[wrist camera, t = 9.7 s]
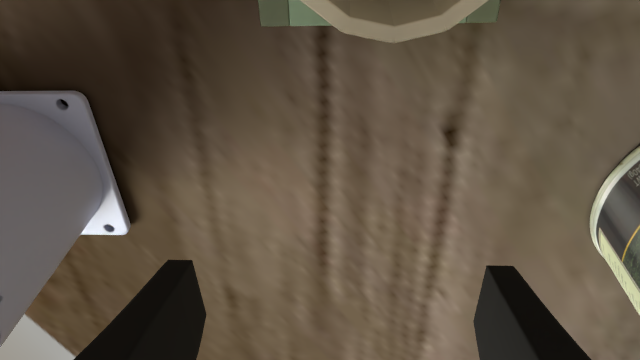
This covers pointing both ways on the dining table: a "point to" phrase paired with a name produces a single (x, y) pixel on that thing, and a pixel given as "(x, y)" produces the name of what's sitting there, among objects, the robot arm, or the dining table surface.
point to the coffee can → (620, 224)
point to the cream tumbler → (393, 16)
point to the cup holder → (287, 10)
